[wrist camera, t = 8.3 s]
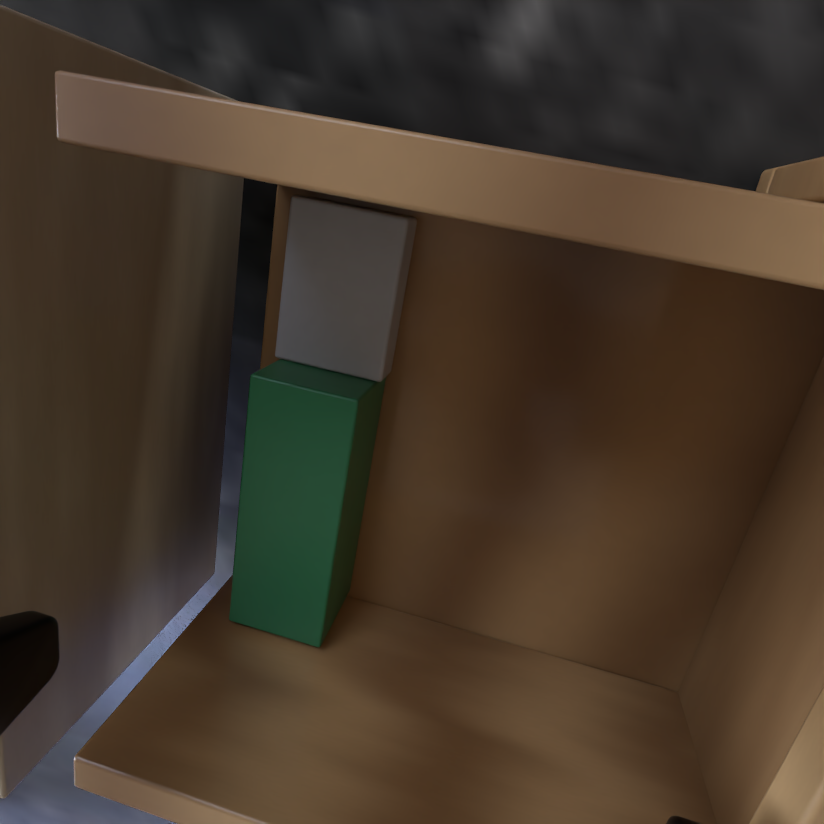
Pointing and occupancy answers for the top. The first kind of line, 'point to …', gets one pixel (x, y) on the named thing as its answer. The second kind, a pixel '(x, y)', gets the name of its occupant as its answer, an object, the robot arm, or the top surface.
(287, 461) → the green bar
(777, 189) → the cabinet
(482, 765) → the drawer
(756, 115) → the top surface
